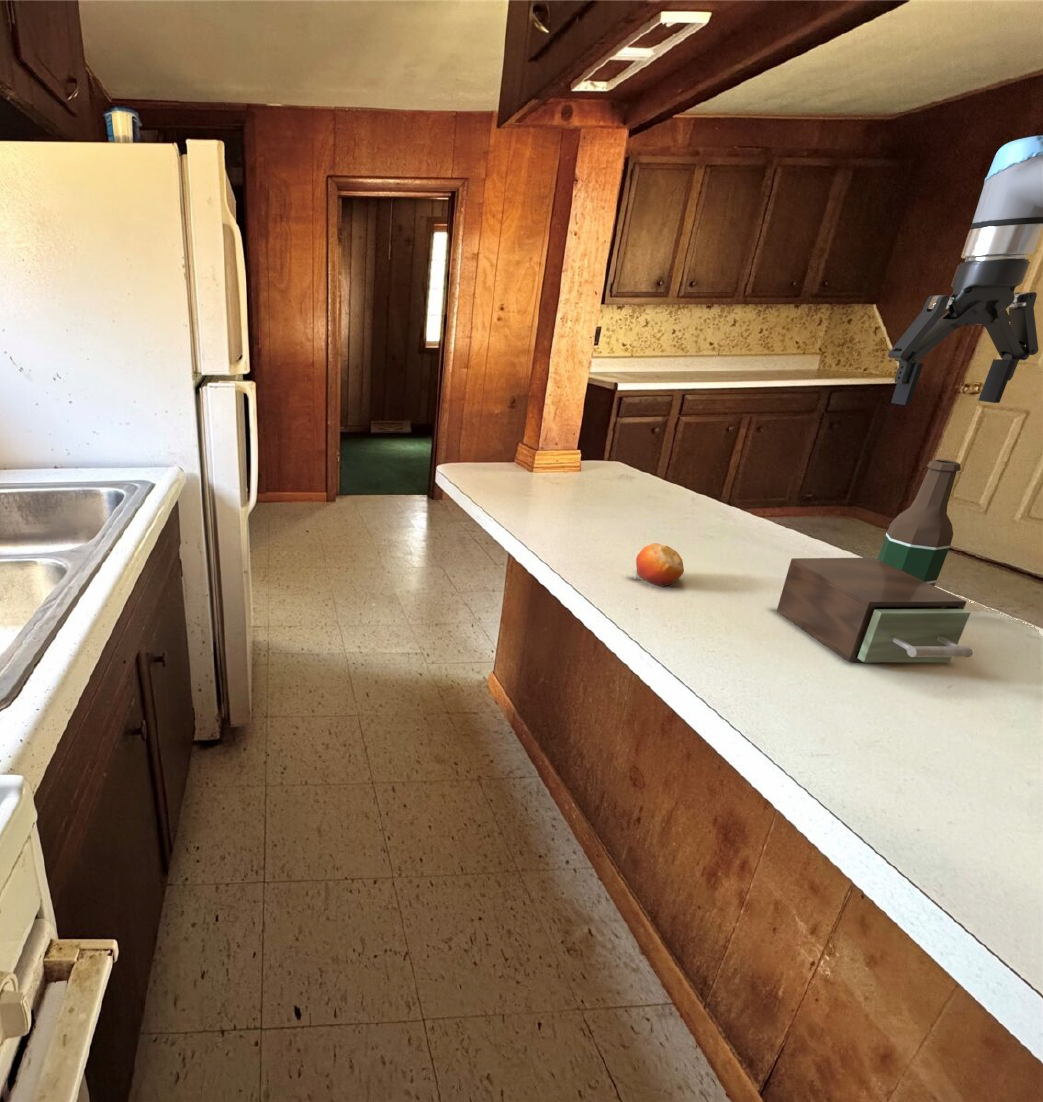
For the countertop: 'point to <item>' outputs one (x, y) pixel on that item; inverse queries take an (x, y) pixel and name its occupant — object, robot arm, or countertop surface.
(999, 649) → the countertop surface
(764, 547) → the countertop surface
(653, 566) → the fruit
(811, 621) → the cabinet
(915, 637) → the drawer
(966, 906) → the countertop surface
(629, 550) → the countertop surface
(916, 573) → the beer bottle
